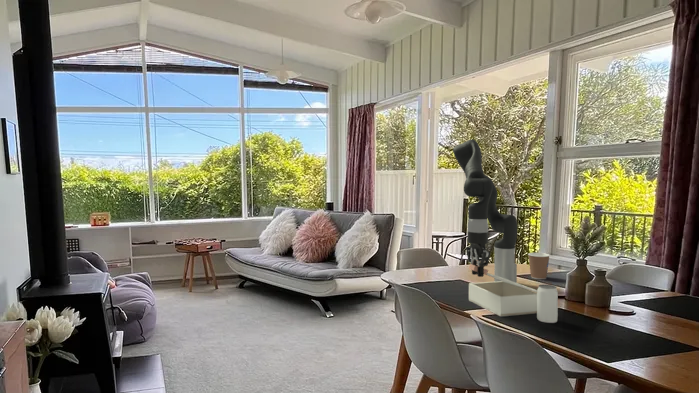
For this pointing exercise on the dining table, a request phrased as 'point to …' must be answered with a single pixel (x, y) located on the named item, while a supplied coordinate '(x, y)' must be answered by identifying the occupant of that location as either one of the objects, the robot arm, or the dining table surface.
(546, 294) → the can
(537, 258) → the coffee cup
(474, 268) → the mailer lid
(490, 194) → the robot arm
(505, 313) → the box
